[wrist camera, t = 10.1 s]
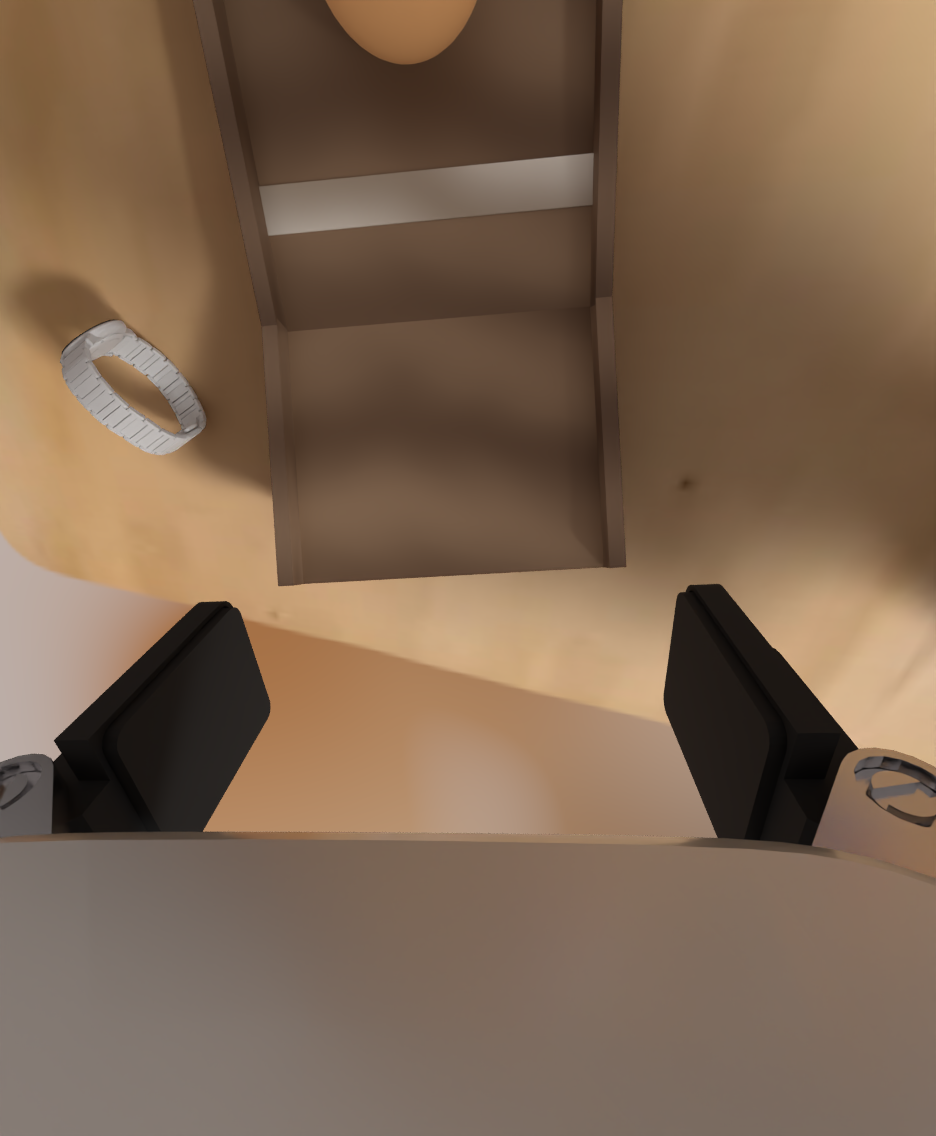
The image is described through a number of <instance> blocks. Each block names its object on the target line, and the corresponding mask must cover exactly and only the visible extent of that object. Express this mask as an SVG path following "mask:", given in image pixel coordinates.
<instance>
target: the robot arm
mask: <svg viewBox="0 0 936 1136" xmlns="http://www.w3.org/2000/svg"><path fill="white" fill-rule="evenodd" d="M664 706H665V711H666V714H667V716H668V719H669V721H670V723H671V726H672V728H673V731H674V733H675V735H676V738H677V740H678V743H679V745H680V747H681V750H682V752H683V755H684V757H685V759H686V762H687V764H688V767H689V769H690V772H691V774H692V777H693V779H694V781H695V784H696V786H697V789H698V791H699V793H700V796H701V798H702V801H703V803H704V806H705V808H706V811H707V813H708V815H709V818H710V820H711V822H712V825H713V827H714V830H715V832H716V835H717V837H718V838H699V837H697V838H696V837H665V836H632V835H564V834H491V833H488V834H486V833H381V832H203V830H204V828H205V826H206V825H207V823H208V821H209V819H210V818H211V816H212V814H213V813H214V811H215V809H216V807H217V805H218V804H219V802H220V800H221V799H222V797H223V795H224V793H225V792H226V790H227V788H228V786H229V785H230V783H231V781H232V780H233V778H234V776H235V774H236V773H237V771H238V769H239V767H240V766H241V764H242V762H243V760H244V759H245V757H246V755H247V753H248V752H249V750H250V748H251V747H252V745H253V743H254V741H255V740H256V738H257V736H258V734H259V733H260V731H261V729H262V728H263V726H264V724H265V722H266V721H267V719H268V717H269V713H270V700H269V697H268V694H267V691H266V688H265V685H264V682H263V679H262V676H261V673H260V670H259V667H258V664H257V661H256V658H255V655H254V652H253V649H252V646H251V643H250V640H249V637H248V634H247V631H246V628H245V625H244V622H243V619H242V616H241V613H240V611H239V610H238V609H237V608H235V607H234V608H233V606H232V605H231V604H230V603H229V602H227V601H220V602H200V603H198V604H196V605H195V606H194V607H193V608H192V609H191V610H190V611H189V612H188V613H187V614H186V615H185V616H184V617H183V618H182V619H181V620H179V621H178V622H177V623H176V624H175V625H174V626H173V627H172V628H171V629H170V630H169V631H168V632H167V633H166V634H165V635H164V636H163V637H162V638H161V639H160V640H159V641H158V642H156V643H155V644H154V645H153V646H152V647H151V648H150V649H149V650H148V651H147V652H146V653H145V654H144V655H143V656H142V657H141V658H140V659H139V660H138V661H137V662H135V663H134V664H133V665H132V666H131V667H130V668H129V669H128V670H127V671H126V672H125V673H124V674H123V675H122V676H121V677H120V678H119V679H118V680H117V681H116V682H115V683H114V684H112V685H111V686H110V687H109V688H108V689H107V690H106V691H105V692H104V693H103V694H102V695H101V696H100V697H99V698H98V699H97V700H96V701H95V702H94V703H93V704H91V705H90V706H89V707H88V708H87V709H86V710H85V711H84V712H83V713H82V714H81V715H80V716H79V717H78V718H77V719H76V720H75V721H74V722H73V723H72V724H71V725H70V726H68V728H66V729H65V730H64V731H63V732H62V733H61V734H60V735H59V736H58V737H57V738H56V739H55V740H54V742H55V743H56V745H57V746H58V748H59V750H60V751H61V753H62V754H61V755H60V756H59V757H58V758H57V759H56V760H55V761H54V762H53V761H52V759H51V758H49V757H47V756H46V755H43V754H28V755H22V756H17V757H15V758H12V759H9V760H6V761H3V762H0V1136H936V768H935V767H934V766H932V765H930V764H928V763H926V762H924V761H921V760H919V759H917V758H915V757H913V756H910V755H906V754H903V753H900V752H897V751H894V750H887V749H880V748H864V749H858V748H857V746H856V745H855V744H854V743H853V742H852V740H851V739H850V738H849V737H848V735H847V734H846V733H845V732H844V731H843V729H842V728H841V727H840V726H839V724H838V723H837V722H836V721H835V720H834V718H833V717H832V716H831V715H830V714H829V712H828V711H827V710H826V709H825V707H824V706H823V705H822V704H821V703H820V701H819V700H818V699H817V698H816V696H815V695H814V694H813V693H812V692H811V690H810V689H809V688H808V687H807V685H806V684H805V683H804V682H803V681H802V679H801V678H800V677H799V676H798V675H797V673H796V672H795V671H794V670H793V668H792V667H791V666H790V665H789V664H788V662H787V661H786V660H785V659H784V657H783V656H782V655H781V654H780V653H779V652H778V651H777V650H776V649H774V648H772V647H771V645H770V644H769V643H768V642H767V641H766V639H765V638H764V637H763V636H762V634H761V633H760V632H759V631H758V629H757V628H756V627H755V626H754V625H753V623H752V622H751V621H750V620H749V618H748V617H747V616H746V615H745V613H744V612H743V611H742V610H741V609H740V607H739V606H738V605H737V604H736V602H735V601H734V600H733V599H732V597H731V596H730V595H729V594H728V592H727V591H726V590H725V589H724V588H723V586H721V585H720V584H707V585H690V586H688V588H687V590H686V592H680V593H679V594H678V596H677V600H676V607H675V615H674V622H673V629H672V637H671V644H670V652H669V659H668V666H667V674H666V681H665V689H664Z"/></svg>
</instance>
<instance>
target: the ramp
mask: <svg viewBox="0 0 936 1136" xmlns="http://www.w3.org/2000/svg"><path fill="white" fill-rule="evenodd" d="M622 2H623V0H477V1H476V4H475V7H474V9H473V11H472V13H471V15H470V17H469V19H468V21H467V23H466V25H465V26H464V28H463V30H462V31H461V32H460V33H459V35H458V36H457V37H456V39H455V40H454V41H453V42H452V43H451V44H450V45H449V46H448V47H447V48H446V49H445V50H443V51H442V52H441V53H439V54H438V55H436V56H435V57H433V58H431V59H429V60H427V61H424V62H421V63H416V64H395V63H391V62H388V61H385V60H382V59H379V58H377V57H376V56H374V55H372V54H371V53H369V52H368V51H366V50H365V49H363V48H362V47H361V46H359V45H358V44H357V43H356V42H355V41H354V40H353V39H352V38H351V37H350V36H349V35H348V34H347V32H346V31H345V30H344V29H343V27H342V26H341V25H340V23H339V22H338V21H337V19H336V18H335V16H334V15H333V13H332V11H331V9H330V8H329V6H328V4H327V2H326V0H193V3H194V8H195V13H196V18H197V22H198V27H199V32H200V36H201V41H202V46H203V51H204V55H205V60H206V65H207V70H208V74H209V79H210V84H211V89H212V93H213V98H214V103H215V108H216V112H217V117H218V122H219V127H220V131H221V136H222V141H223V145H224V150H225V155H226V160H227V164H228V169H229V174H230V179H231V183H232V188H233V193H234V198H235V202H236V207H237V212H238V217H239V221H240V226H241V231H242V236H243V240H244V245H245V250H246V254H247V259H248V264H249V269H250V273H251V278H252V283H253V288H254V292H255V297H256V302H257V307H258V311H259V316H260V321H261V326H262V340H263V356H264V371H265V387H266V403H267V418H268V434H269V450H270V465H271V481H272V497H273V513H274V528H275V544H276V560H277V575H278V586H290V585H300V584H310V583H328V582H346V581H364V580H382V579H400V578H418V577H436V576H454V575H472V574H490V573H508V572H526V571H544V570H562V569H580V568H598V567H606V568H615V567H626V555H625V535H624V516H623V497H622V477H621V458H620V439H619V419H618V400H617V381H616V361H615V342H614V323H613V304H612V286H613V258H614V229H615V201H616V173H617V144H618V116H619V87H620V59H621V30H622Z"/></svg>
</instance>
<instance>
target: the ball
mask: <svg viewBox="0 0 936 1136" xmlns="http://www.w3.org/2000/svg"><path fill="white" fill-rule="evenodd" d="M476 1H477V0H326V2H327V4H328V6H329V8H330V9H331V11H332V13H333V15H334V16H335V18H336V19H337V21H338V22H339V23H340V25H341V26H342V27H343V29H344V30H345V31H346V32H347V34H348V35H349V36H350V37H351V38H352V39H353V40H354V41H355V42H356V43H357V44H358V45H359V46H361V47H362V48H363V49H365V50H366V51H368V52H369V53H371V54H372V55H374V56H376V57H377V58H379V59H382V60H385V61H388V62H391V63H395V64H416V63H421V62H424V61H427V60H429V59H431V58H433V57H435V56H436V55H438V54H439V53H441V52H442V51H443V50H445V49H446V48H447V47H448V46H449V45H450V44H451V43H452V42H453V41H454V40H455V39H456V37H457V36H458V35H459V33H460V32H461V31H462V30H463V28H464V26H465V25H466V23H467V21H468V19H469V17H470V15H471V13H472V11H473V9H474V7H475V4H476Z"/></svg>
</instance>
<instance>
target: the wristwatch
mask: <svg viewBox="0 0 936 1136" xmlns="http://www.w3.org/2000/svg"><path fill="white" fill-rule="evenodd" d="M113 355H115V356H118V357H119V358H120V359H122V360H123V361H125V362H127V363H128V364H130V365H132V364H133V363H134V364H133V367H135V368H136V369H137V370H139V371H140V372H141V373H143V374H144V375H146V374H148V375H147V377H148V378H149V379H150V380H151V382H152V383H153V384H154V385H155V386H156V387H160V388H159V390H160V392H161V393H162V394H163V395H164V397H165V398H166V399H167V400H169V401H168V403H169V404H170V406H171V407H172V409H173V411H174V412H175V413H176V414H175V415H176V417H177V419H178V421H179V423H180V424H181V425H182V426H181V429H182V430H180V431H179V432H178V433H176V434H173V433H171V432H169V431H167V430H165V429H163V428H162V429H161V428H160V426H158V425H157V424H155V423H154V422H153V421H151V420H150V419H148V418H146V419H145V416H144V415H143V414H141V413H140V412H138V411H137V410H135V409H134V408H133V407H129V404H128V403H127V402H126V401H125V400H124V399H122V398H121V397H120V396H119V395H118V394H117V393H113V392H114V390H113V389H112V387H111V386H110V385H109V384H108V383H107V382H106V380H105V379H104V378H103V377H101V374H100V373H99V371H98V370H97V368H96V367H95V365H94V364H93V362H92V361H93V360H95V359H97V358H99V357H101V356H111V357H112V356H113ZM165 359H166V357H165V355H163V354H162V353H161V352H160V351H158V350H157V349H156V348H155V347H153V348H152V346H151V345H150V344H149V343H148V342H146V341H144V340H143V339H141V338H139V337H138V338H137V336H136V334H135V333H134V332H133V331H132V330H131V329H128V328H126V325H125V324H124V322H123V321H121V320H109V321H106V322H103V323H101V324H98V325H96V326H94V327H92V328H90V329H88V330H87V331H85V332H84V333H82V334H80V335H79V336H78V337H76V338H75V339H74V340H72V341H71V342H70V343H69V344H68V345H67V346H66V347H65V348H64V350H63V351H62V356H61V360H60V363H61V364H62V366H63V368H62V373H63V378H64V380H66V384H67V386H68V387H69V389H70V390H71V392H72V393H73V395H75V396H77V397H76V398H77V400H78V401H79V402H80V403H81V404H82V405H83V406H84V407H85V408H86V410H88V411H91V412H90V413H91V414H92V415H93V416H94V417H95V418H96V419H97V420H98V421H99V422H101V423H102V424H103V425H106V424H107V425H106V427H107V428H108V429H110V430H111V431H113V432H114V433H116V434H117V435H119V436H123V438H124V439H125V440H126V441H128V442H130V443H131V444H133V445H134V446H136V447H139V448H140V449H141V450H143V451H145V452H148V453H151V454H156V455H165V454H166V453H171V452H174V451H176V450H177V449H179V448H180V447H181V446H183V445H184V444H185V443H187V442H188V441H189V440H191V439H192V438H194V437H195V436H196V435H197V434H199V433H200V432H201V431H202V430H203V429H204V428H205V426H206V415H205V412H204V411H203V407H202V405H201V403H200V401H199V400H198V399H197V395H196V394H195V392H194V390H193V389H192V387H191V386H188V385H189V383H188V381H187V380H186V378H185V377H184V376H183V375H182V373H180V372H179V370H178V368H177V367H176V366H175V365H174V364H173V363H172V362H171V361H170V360H169V359H166V360H165ZM163 368H164V369H163ZM158 372H159V373H158ZM178 372H179V373H178ZM112 393H113V394H112ZM128 407H129V408H128Z"/></svg>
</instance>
